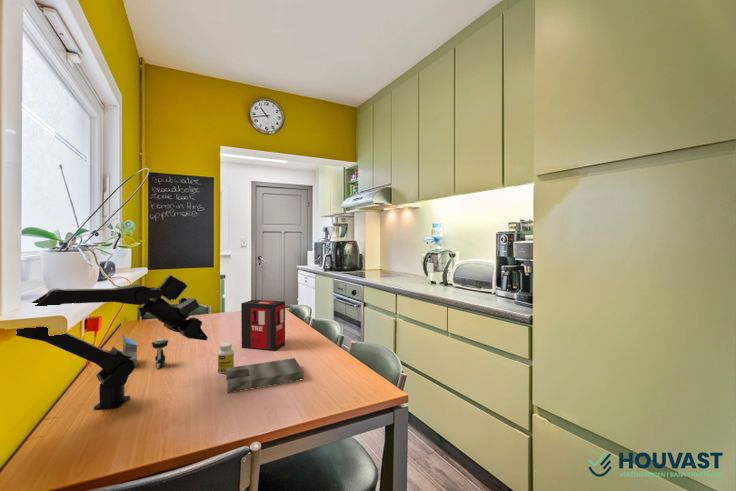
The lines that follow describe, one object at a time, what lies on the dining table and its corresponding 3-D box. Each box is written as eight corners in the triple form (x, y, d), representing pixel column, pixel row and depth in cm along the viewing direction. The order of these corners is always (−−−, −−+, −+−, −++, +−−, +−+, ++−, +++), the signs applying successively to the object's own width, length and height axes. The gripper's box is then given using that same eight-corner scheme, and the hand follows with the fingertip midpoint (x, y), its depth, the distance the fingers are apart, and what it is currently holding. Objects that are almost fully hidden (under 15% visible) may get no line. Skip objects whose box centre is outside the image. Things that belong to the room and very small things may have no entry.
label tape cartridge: (137, 367, 126) (137, 334, 126) (124, 369, 123) (124, 336, 123) (134, 360, 133) (134, 329, 132) (122, 363, 130) (121, 331, 130)
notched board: (227, 393, 105) (227, 383, 105) (226, 376, 117) (226, 368, 117) (303, 379, 115) (303, 371, 115) (294, 365, 127) (294, 358, 127)
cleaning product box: (241, 348, 148) (241, 303, 148) (253, 342, 157) (253, 299, 156) (275, 351, 144) (275, 305, 144) (285, 345, 153) (285, 301, 152)
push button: (165, 368, 124) (165, 341, 124) (149, 370, 123) (148, 343, 122) (169, 362, 131) (169, 336, 130) (153, 364, 129) (153, 338, 129)
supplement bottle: (216, 374, 119) (216, 347, 119) (218, 369, 124) (218, 342, 124) (232, 373, 120) (232, 346, 120) (234, 367, 126) (234, 341, 125)
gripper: (194, 294, 106) (229, 321, 115) (171, 288, 118) (205, 313, 127) (168, 325, 100) (207, 350, 109) (147, 315, 112) (184, 339, 121)
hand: (201, 336), depth 117 cm, fingers open, 9 cm apart
